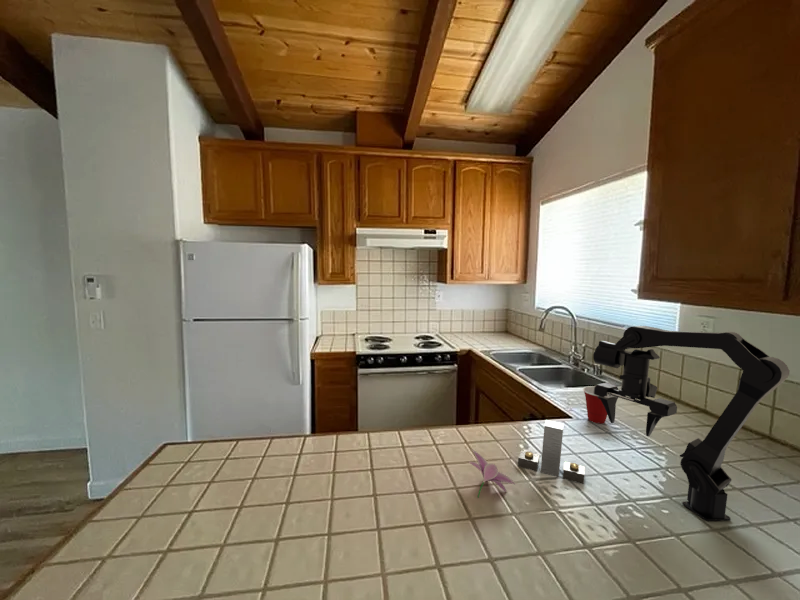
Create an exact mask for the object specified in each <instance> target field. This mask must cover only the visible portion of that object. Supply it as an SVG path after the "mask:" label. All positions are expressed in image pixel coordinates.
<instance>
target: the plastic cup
mask: <svg viewBox="0 0 800 600" xmlns="http://www.w3.org/2000/svg"><path fill="white" fill-rule="evenodd" d="M595 386H596V385H594V386H593V385H592V386H591V385H590V386H589V385H588V386H583V388H582V391H583V392H584V397H585V405H586V406H585V407H586V412H587V413H586V414H587V419H588V421H590V422H592V423H595V424H605V423H606V421H607V417H608V415H607V412H606V410H605V407H604V405H603V404H602V402H601V400H600V399H598V395H595V394H593V393H594V387H595Z"/></svg>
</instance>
